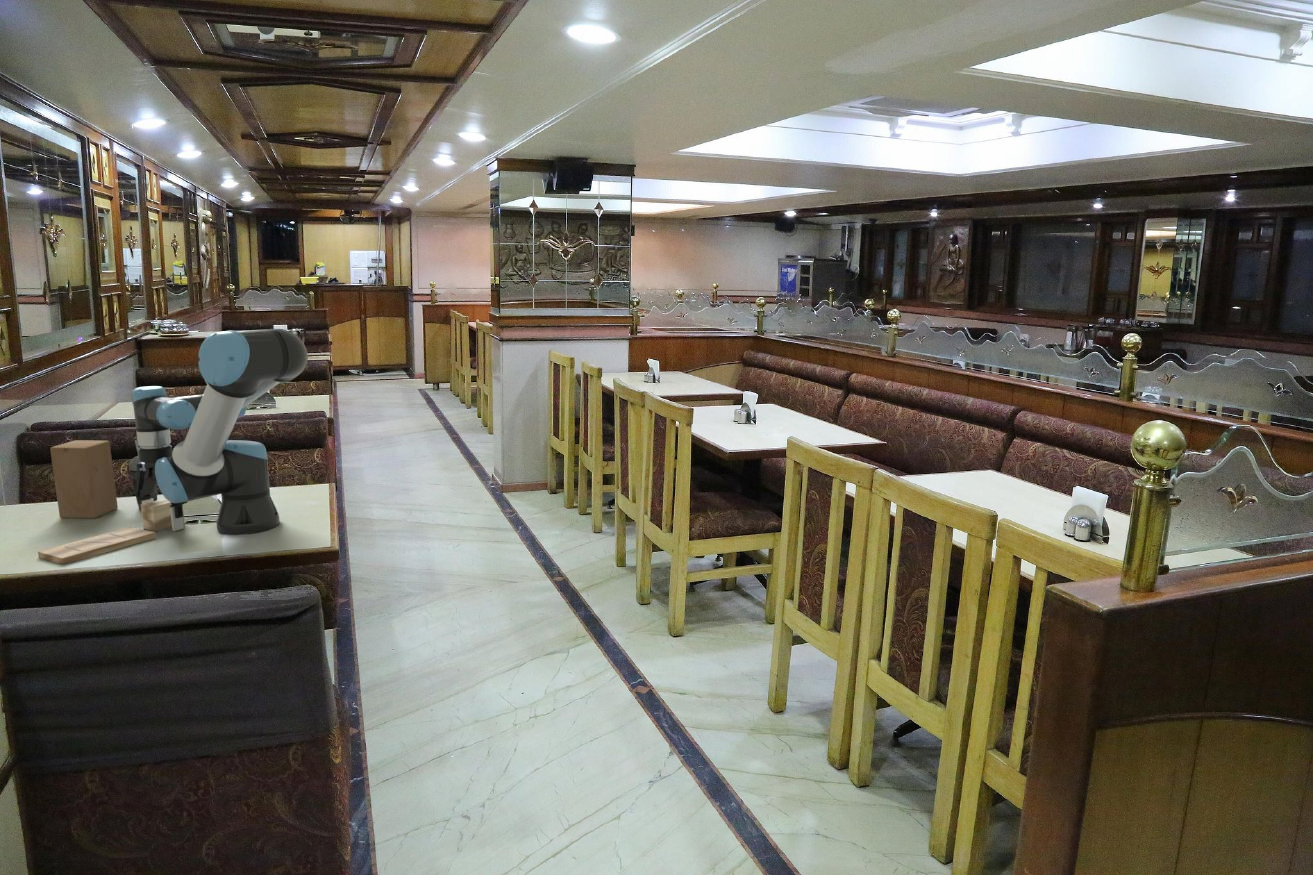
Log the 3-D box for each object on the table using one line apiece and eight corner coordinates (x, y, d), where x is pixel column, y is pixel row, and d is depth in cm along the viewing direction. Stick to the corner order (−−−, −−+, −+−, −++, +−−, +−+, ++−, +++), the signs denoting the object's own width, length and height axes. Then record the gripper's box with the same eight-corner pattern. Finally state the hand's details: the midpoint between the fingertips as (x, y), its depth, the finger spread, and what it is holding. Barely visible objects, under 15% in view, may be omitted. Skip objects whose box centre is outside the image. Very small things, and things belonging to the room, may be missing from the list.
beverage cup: (167, 507, 241) (160, 439, 237) (140, 513, 235) (132, 443, 231) (155, 503, 245) (147, 436, 241) (128, 508, 239) (120, 440, 235)
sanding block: (184, 524, 226) (181, 499, 224) (155, 532, 218) (152, 506, 217) (172, 521, 228) (169, 497, 226) (143, 529, 221) (140, 504, 219)
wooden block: (94, 519, 229) (85, 447, 225) (59, 518, 230) (49, 447, 226) (118, 508, 239) (110, 440, 235) (84, 508, 239) (75, 439, 235)
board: (155, 538, 214) (154, 532, 214) (63, 564, 195) (62, 558, 194) (131, 532, 218) (130, 526, 218) (38, 557, 199) (37, 551, 199)
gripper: (197, 447, 217) (205, 528, 221) (141, 438, 227) (150, 516, 231) (169, 453, 210) (179, 536, 215) (113, 443, 221) (122, 523, 225)
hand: (164, 526), depth 223 cm, fingers open, 11 cm apart
